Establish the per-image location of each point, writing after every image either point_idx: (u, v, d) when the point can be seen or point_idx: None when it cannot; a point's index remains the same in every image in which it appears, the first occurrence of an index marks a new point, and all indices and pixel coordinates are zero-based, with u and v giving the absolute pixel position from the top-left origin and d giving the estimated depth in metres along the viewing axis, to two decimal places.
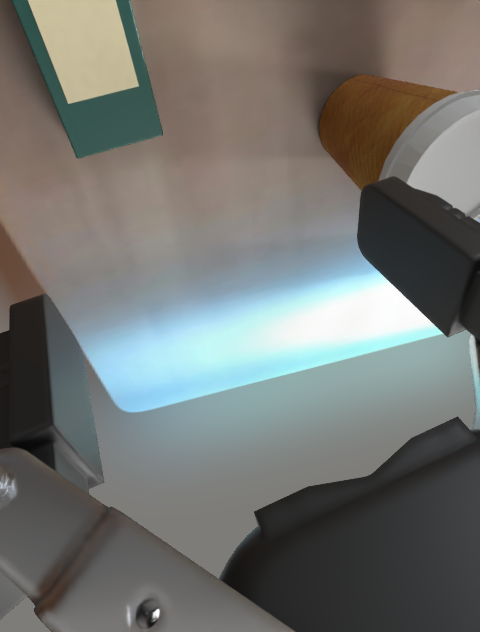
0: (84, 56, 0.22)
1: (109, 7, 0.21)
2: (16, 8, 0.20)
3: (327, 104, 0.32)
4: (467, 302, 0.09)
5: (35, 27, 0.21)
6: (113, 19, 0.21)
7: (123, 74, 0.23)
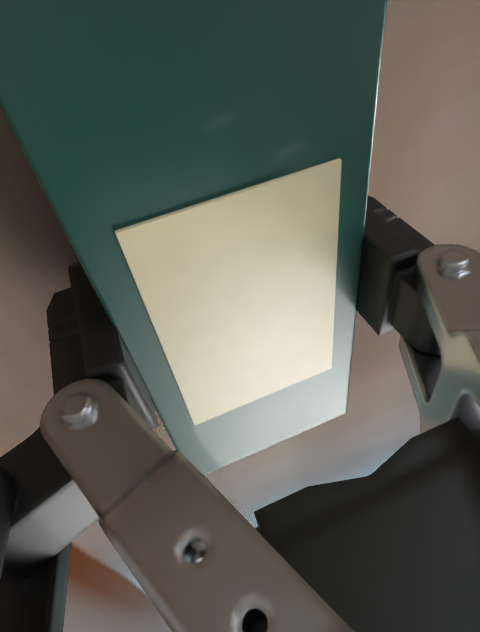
0: (243, 352, 0.10)
1: (318, 267, 0.09)
2: (110, 314, 0.08)
3: None
4: (392, 301, 0.09)
5: (149, 335, 0.08)
6: (320, 287, 0.09)
7: (309, 358, 0.11)
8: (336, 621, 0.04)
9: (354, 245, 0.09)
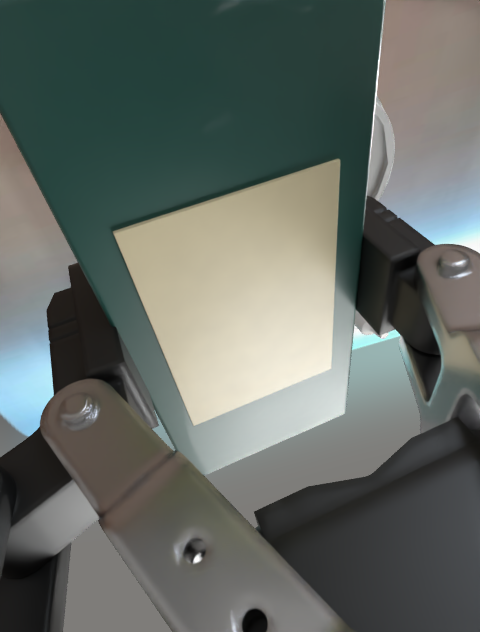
0: (242, 352, 0.10)
1: (317, 267, 0.09)
2: (109, 314, 0.08)
3: None
4: (392, 301, 0.09)
5: (148, 336, 0.08)
6: (319, 287, 0.09)
7: (308, 358, 0.11)
8: (336, 621, 0.04)
9: (353, 245, 0.09)
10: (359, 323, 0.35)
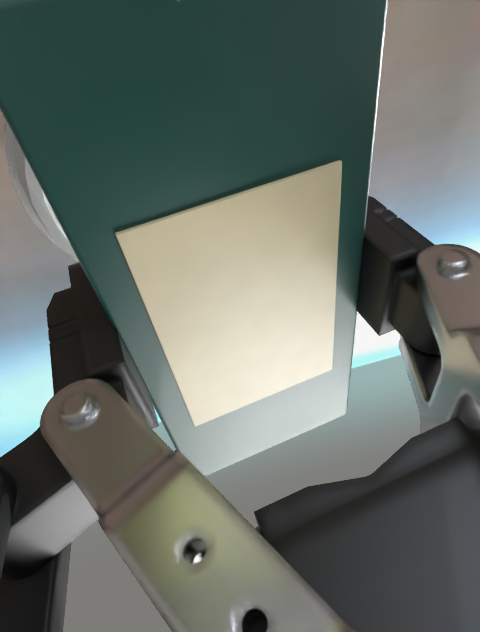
0: (243, 353, 0.10)
1: (318, 268, 0.09)
2: (111, 316, 0.08)
3: None
4: (392, 301, 0.09)
5: (150, 336, 0.08)
6: (321, 288, 0.09)
7: (310, 359, 0.11)
8: (335, 621, 0.04)
9: (355, 246, 0.09)
10: None
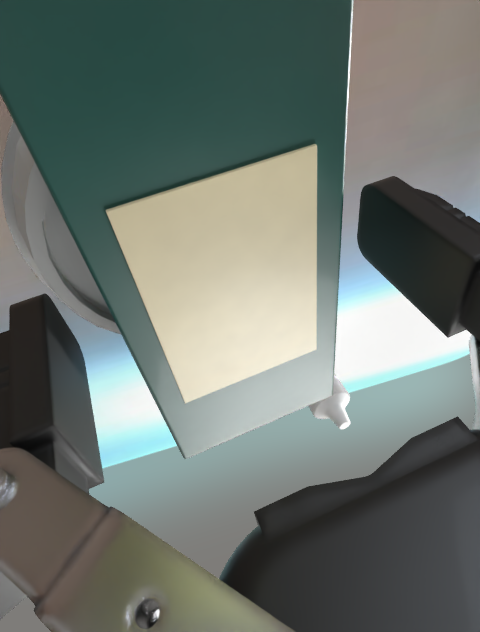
0: (230, 331, 0.10)
1: (299, 248, 0.09)
2: (103, 290, 0.08)
3: None
4: (467, 302, 0.09)
5: (140, 312, 0.09)
6: (302, 268, 0.10)
7: (294, 338, 0.11)
8: None
9: (333, 228, 0.09)
10: None
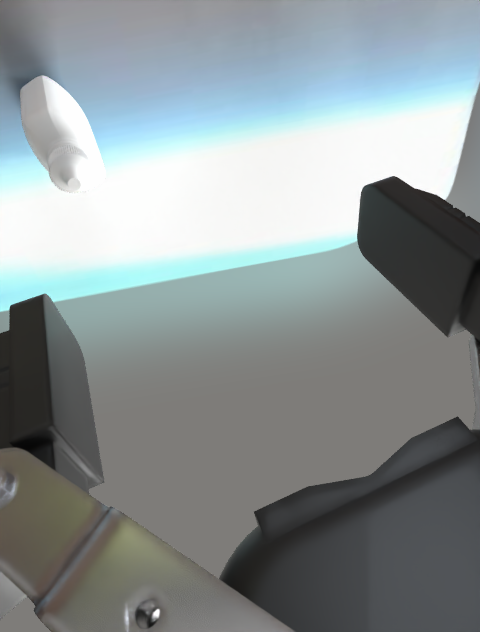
0: None
1: None
2: None
3: None
4: (467, 302, 0.09)
5: None
6: None
7: None
8: None
9: None
10: None
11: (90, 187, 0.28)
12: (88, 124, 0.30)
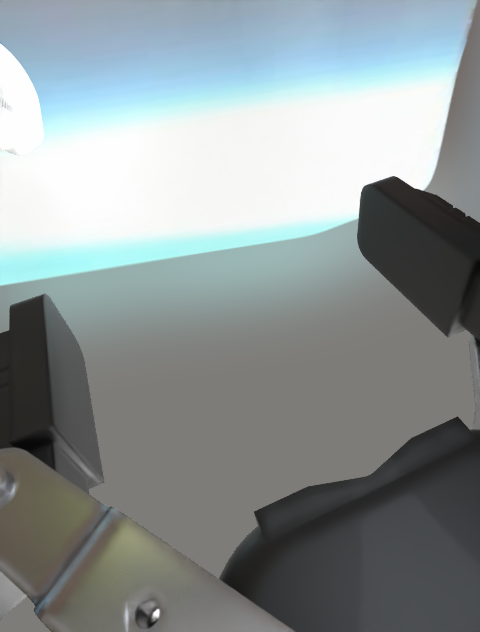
0: None
1: None
2: None
3: None
4: (467, 302, 0.09)
5: None
6: None
7: None
8: None
9: None
10: None
11: (25, 149, 0.25)
12: (29, 84, 0.28)
